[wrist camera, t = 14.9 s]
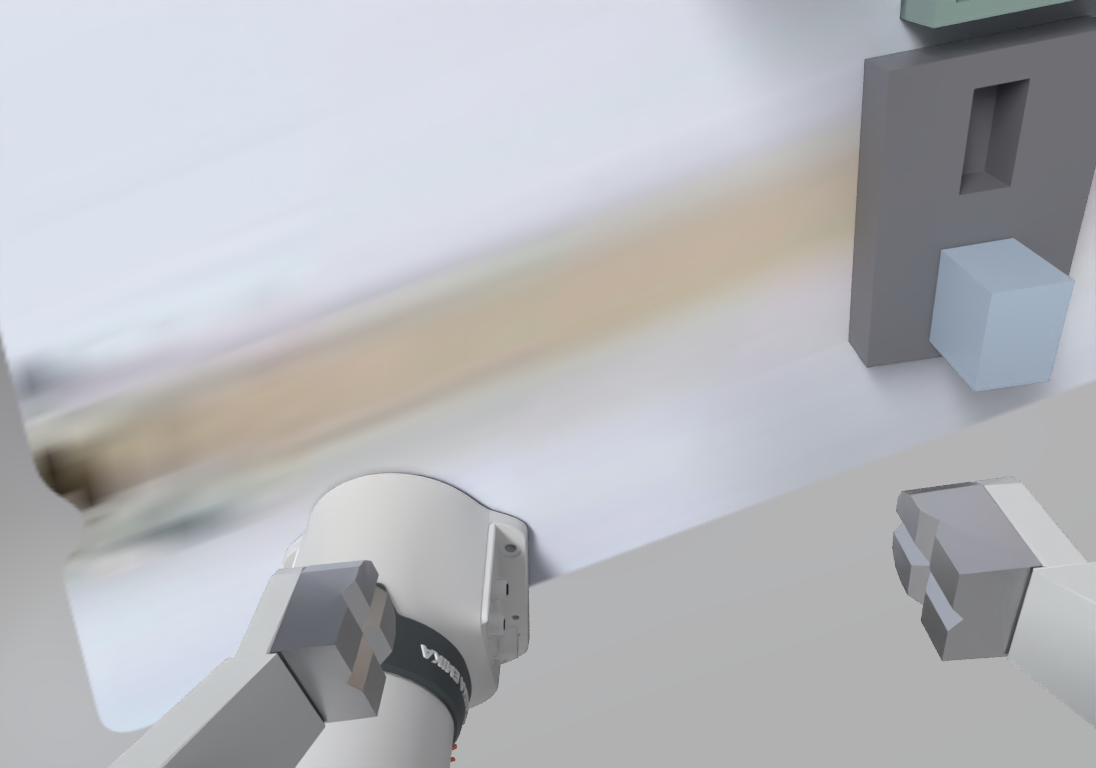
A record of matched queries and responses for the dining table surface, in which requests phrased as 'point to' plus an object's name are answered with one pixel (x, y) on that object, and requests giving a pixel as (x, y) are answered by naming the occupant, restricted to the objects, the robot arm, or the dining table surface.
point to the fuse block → (966, 168)
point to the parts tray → (963, 10)
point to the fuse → (999, 313)
